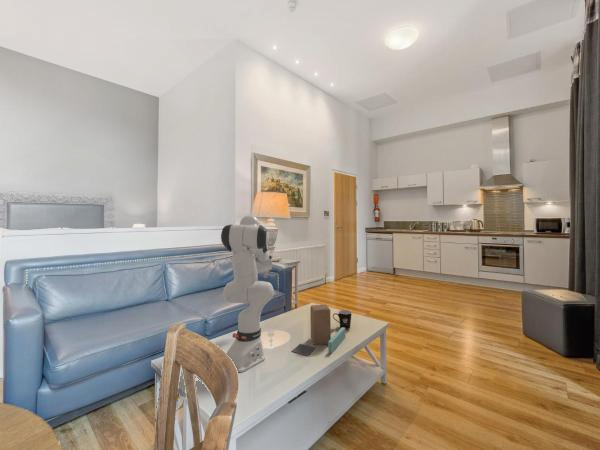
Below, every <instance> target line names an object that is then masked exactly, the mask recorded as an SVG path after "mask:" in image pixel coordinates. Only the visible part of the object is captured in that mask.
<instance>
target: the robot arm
mask: <svg viewBox="0 0 600 450" xmlns="http://www.w3.org/2000/svg"><path fill="white" fill-rule="evenodd" d="M220 239H221V244H222V245H223V247H224V248H226V250H227V251H228V252H229V253H230V252H232V257H231V266H232V272H233V273H232V274H233V279H232V280H231V281H229V282H228V283H226V285H225V286H224V287H223V291H222V296H223V298H224V300H225V301H226V302H227V303H233V304H249V306H248V307H247V308H244V309H243V310H241V311H240V312H239V314H238V315H237V316H238V317H237V321H238V322H237V323H238V324H237V326H238V327H237V330H236V333H235V332H234V333H232V335H231V336H232V338H235V339H234V341H233V343H232V344H231V345H230V347H229V348H228V350H227V351H226V355H228V356H229V357H230V358H231V359H232V361H233V362H234V364H235V366H236V368H237V371H238V372H237V373H243V372H246V371H247V370H250V369H251V368H253V367H255V366H257V365H258V364H260V363H262V362H264V361H265V360H266V358H265V356H264V349H263V347H264V346H263V341H262V340H261V339H262V338H261V336H262V329H261V315H262V311H263V309H264V307H265V305H267V304H268V303H269V302H270V301H271V300H272V299H273V297H274V293H275V290H274V286H273V285H272V283H271V282H269V281H264V280H259V277H258V275H259V274H260V273H264V274H263V278H264V279H266V278H268V274H269V271H271V270H272V269H273V260H272V259H273V255H270V254H269V250H270V245H269V241H270V233H269V230H268V229H267V228H266V227H265V226H263V225H262V223H261V222H260V221H259V219H258V218H257V216H256V217H255V216H254V215H252V214H251V215H245V216H243V217H242V218H241V220H240V222H239V224H227V225H224V226H223V228H222V229H221V233H220Z"/></svg>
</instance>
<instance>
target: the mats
mask: <svg viewBox="0 0 600 450" xmlns="http://www.w3.org/2000/svg"><path fill="white" fill-rule="evenodd" d="M334 331H335V329H334V328H331V334H332V333H333V332H334ZM316 349H317V347H316V346H311V345H308V344H302V343H299V344H298V345H297V346H296V347H294V348H293V349H292V350H291V352H290V353H295V354H298V355H303V356H306V357H309V356H310V355H311V354H312V353H313V352H314V351H315V350H316Z"/></svg>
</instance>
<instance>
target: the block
mask: <svg viewBox="0 0 600 450" xmlns="http://www.w3.org/2000/svg"><path fill="white" fill-rule="evenodd" d="M309 308H310V309H309V311H310V312H309V313H310V339H311V341H312V343H313V345H315V346H317V345H328V341H329V340H330V339H331V338H332V336H331V335H332V333H331V329H332V328H331V326H332V325H331V324H332V323H331V309H330V307H329V306H328V305H327V304H312V305H310V307H309Z"/></svg>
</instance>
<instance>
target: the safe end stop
mask: <svg viewBox="0 0 600 450" xmlns="http://www.w3.org/2000/svg"><path fill="white" fill-rule="evenodd" d="M345 339H346V329H345V328H343V327H342V328H341V327H340V329H339V330H338V331H337V332H336V333H335V334H334V335H333V336H331V339H330V340H329V341H328V344H327V346H328V347H327V351H328V352H327V353H328V354H330V355H331V354H333V353H334V352H335V350H336V349H338V347H339V346H340V345H341V344H342V342H343V341H344V340H345ZM340 343H341V344H340Z"/></svg>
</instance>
